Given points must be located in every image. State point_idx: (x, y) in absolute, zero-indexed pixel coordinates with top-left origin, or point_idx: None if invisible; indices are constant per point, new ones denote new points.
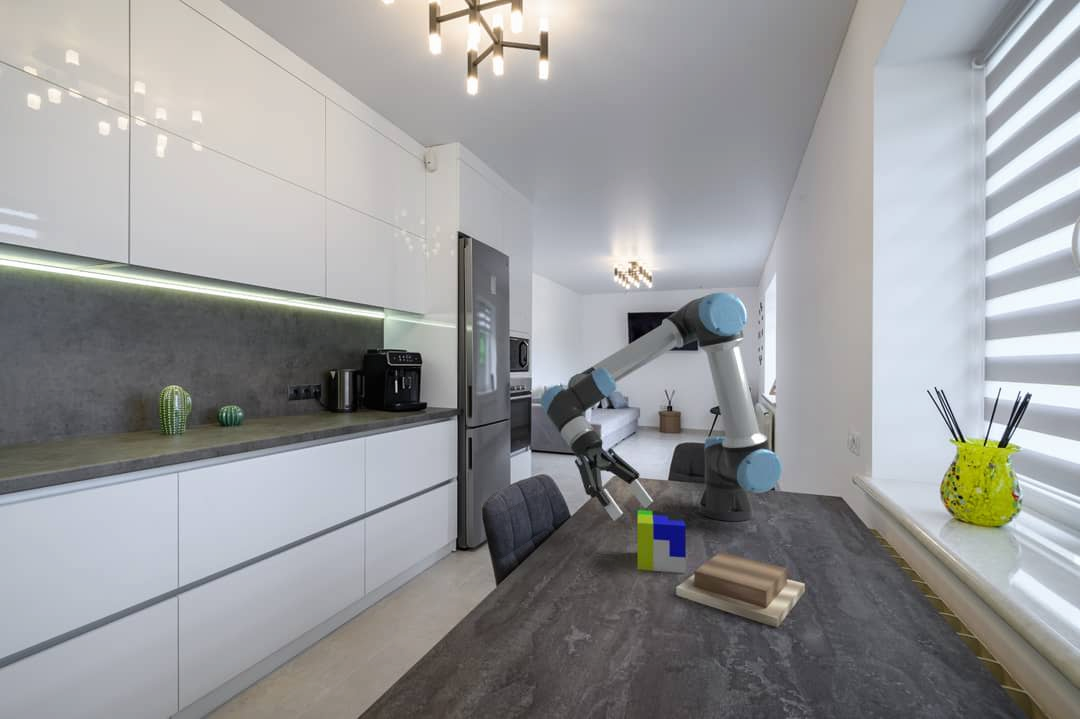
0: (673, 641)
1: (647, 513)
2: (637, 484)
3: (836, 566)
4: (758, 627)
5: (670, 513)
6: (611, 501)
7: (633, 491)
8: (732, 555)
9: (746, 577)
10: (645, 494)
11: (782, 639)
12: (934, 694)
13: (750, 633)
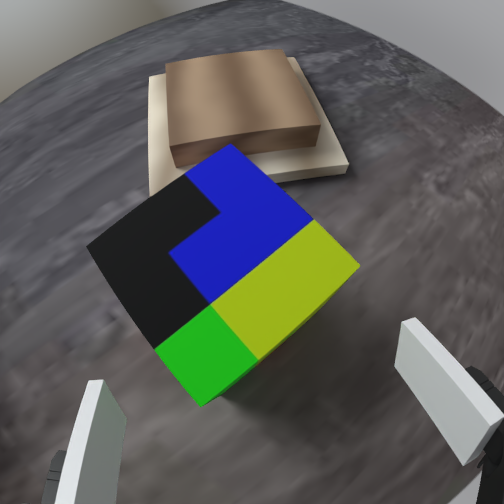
0: (431, 120)
1: (208, 337)
2: (81, 488)
3: (31, 115)
4: (313, 76)
5: (127, 267)
6: (457, 366)
7: (111, 501)
8: (169, 124)
9: (259, 72)
10: (94, 421)
11: (312, 59)
12: (282, 7)
13: (334, 77)
